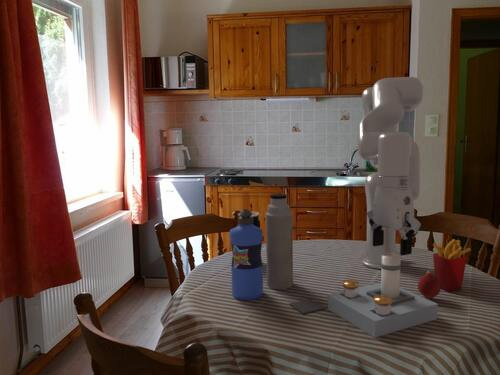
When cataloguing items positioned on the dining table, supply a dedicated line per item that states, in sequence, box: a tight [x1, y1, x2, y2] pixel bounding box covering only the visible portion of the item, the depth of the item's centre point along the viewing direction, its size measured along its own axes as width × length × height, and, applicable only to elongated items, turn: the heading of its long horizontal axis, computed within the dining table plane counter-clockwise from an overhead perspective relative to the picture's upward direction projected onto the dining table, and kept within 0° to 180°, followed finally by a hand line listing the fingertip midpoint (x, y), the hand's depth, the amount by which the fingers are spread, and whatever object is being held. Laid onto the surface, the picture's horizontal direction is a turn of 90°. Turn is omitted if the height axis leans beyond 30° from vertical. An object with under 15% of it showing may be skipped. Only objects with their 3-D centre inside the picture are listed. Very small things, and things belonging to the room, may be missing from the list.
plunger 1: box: [341, 279, 360, 300], centre depth 118 cm, size 4×4×7 cm
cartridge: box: [380, 253, 402, 300], centre depth 116 cm, size 5×5×15 cm
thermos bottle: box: [265, 193, 294, 290], centre depth 136 cm, size 8×8×28 cm
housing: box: [327, 282, 439, 339], centre depth 115 cm, size 20×18×5 cm
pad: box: [288, 298, 326, 315], centre depth 121 cm, size 7×7×1 cm
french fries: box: [432, 238, 472, 293], centre depth 130 cm, size 9×8×15 cm
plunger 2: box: [374, 295, 392, 317], centre depth 107 cm, size 4×4×7 cm
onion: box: [417, 270, 442, 300], centre depth 123 cm, size 6×6×8 cm
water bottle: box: [229, 208, 264, 301], centre depth 129 cm, size 9×9×25 cm
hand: (391, 249), depth 114 cm, fingers open, 9 cm apart
